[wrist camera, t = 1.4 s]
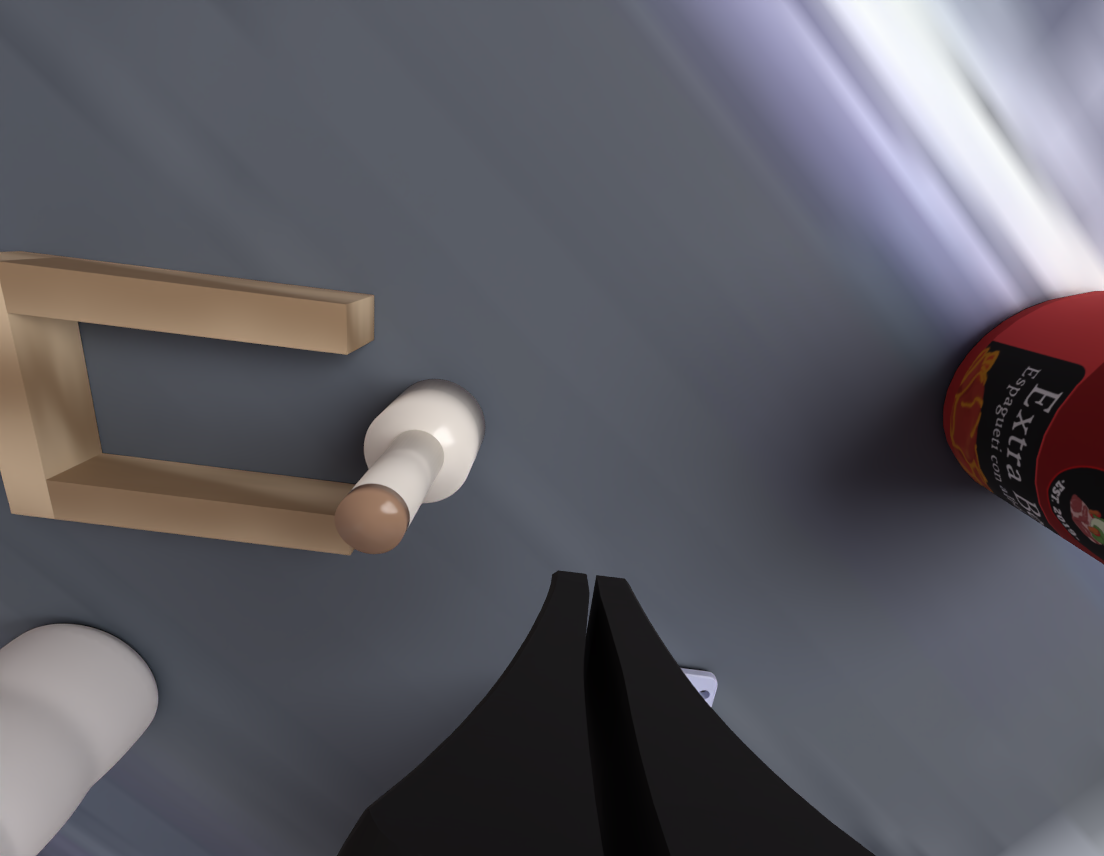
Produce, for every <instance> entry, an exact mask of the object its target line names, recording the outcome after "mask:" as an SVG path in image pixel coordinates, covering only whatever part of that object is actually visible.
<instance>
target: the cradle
mask: <svg viewBox="0 0 1104 856" xmlns="http://www.w3.org/2000/svg"><path fill="white" fill-rule="evenodd" d="M78 321H79V322H87V323H95V324H103V325H111V326H119V327H128V328H136V329H144V330H152V331H160V332H168V333H176V334H184V335H192V336H200V337H208V338H216V339H225V340H233V341H241V342H249V343H257V344H265V345H273V346H281V347H289V348H297V349H305V350H313V351H321V352H330V353H338V354H346V355H347V354H349V353H351V352H353V351H355V350H356V349H358V348H360V347H362V346H364V345H365V344H367V343H369V342H371V341H372V340H374V295H369V294H361V293H353V292H345V291H337V290H329V289H321V288H313V287H305V286H297V285H289V284H281V283H273V282H265V281H256V280H248V279H240V278H232V277H224V276H216V275H208V274H200V273H192V272H184V271H176V270H168V269H160V268H152V267H144V266H135V265H127V264H119V263H111V262H103V261H95V260H87V259H79V258H71V257H63V256H55V255H47V254H39V253H31V252H23V251H15V252H0V471H1V475H2V479H3V482H4V486H5V490H6V494H7V498H8V502H9V505H10V509H11V513H12V514H19V515H27V516H35V517H43V518H51V519H59V520H67V521H76V522H84V523H92V524H100V525H108V526H116V527H124V528H133V529H141V530H149V531H157V532H165V533H173V534H181V535H190V536H198V537H206V538H214V539H222V540H230V541H238V542H246V543H255V544H263V545H271V546H279V547H287V548H295V549H303V550H312V551H320V552H328V553H336V554H344V555H351V553H352V552H353V550H354V548H352V547H351V546H349V545H348V544H347V543H346V542H345V541H344V540H343V539H342V538H341V537H340V535H339V533H338V531H337V529H336V526H335V512H336V509H337V507H338V505H339V504H340V503H341V501H342V500H343V499H344V498H345V497H346V495H347V494H348V493H349V492H350V491H351V490H352V488H353V487H354V486H355V485H356V484H349V483H341V482H333V481H325V480H317V479H308V478H300V477H292V476H284V475H276V474H268V473H260V472H252V471H244V470H235V469H227V468H219V467H211V466H203V465H195V464H187V463H179V462H170V461H162V460H154V459H146V458H138V457H130V456H122V455H114V454H106V453H102V449H101V444H100V438H99V433H98V428H97V422H96V417H95V412H94V406H93V401H92V396H91V390H90V385H89V380H88V374H87V369H86V363H85V358H84V353H83V347H82V342H81V337H80V331H79V326H78Z"/></svg>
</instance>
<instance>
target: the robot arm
mask: <svg viewBox="0 0 1104 856" xmlns="http://www.w3.org/2000/svg"><path fill="white" fill-rule="evenodd" d="M588 604H589V587H588V580H587V575H586V574H582V573H574V572H566V571H557V572H555V573H554V574H552V580H551V585H550V589H549V592H548V595H547V597H546V600H545V602H544V604H543V607H542V609H541V611H540V613H539V615H538V617H537V619H536V621H535V623H534V625H533V627H532V629H531V630H530V632H529V634H528V636H527V637H526V639H525V641H524V642H523V644H522V645H521V647H520V649H519V650H518V652H517V653H516V655H515V657H514V658H513V660H512V661H511V663H510V664H509V666H508V667H507V668H506V670H505V671H504V673H503V674H502V675H501V677H500V678H499V679H498V681H497V682H496V683H495V685H494V686H493V687H492V689H491V690H490V691H489V692H488V694H487V695H486V696H485V697H484V698H483V700H482V701H481V702H480V703H479V704H478V705H477V707H476V708H475V709H474V710H473V711H472V712H471V714H470V715H469V716H468V717H467V718H466V719H465V720H464V721H463V722H462V724H461V725H460V726H459V727H458V728H457V729H456V730H455V731H454V732H453V733H452V734H451V735H450V736H449V737H448V738H447V739H446V740H445V741H444V742H443V743H442V744H441V745H440V746H438V747H437V748H436V749H435V750H434V751H433V752H432V753H431V754H430V755H429V756H428V757H427V758H426V759H425V760H424V761H423V762H422V763H421V764H420V765H419V766H417V767H416V768H415V769H414V770H413V771H412V772H411V773H409V774H408V775H407V776H406V777H405V778H403V779H402V780H401V781H400V782H398V783H397V784H396V785H395V786H393V787H392V788H391V789H390V790H389V791H387V792H386V793H385V794H384V795H382V796H381V797H380V798H379V799H378V800H376V801H375V802H374V803H373V804H371V805H370V806H369V807H368V808H367V809H366V810H365V811H364V813H363V814H362V816H361V817H360V819H359V820H358V822H357V823H356V825H355V827H354V828H353V830H352V831H351V833H350V835H349V836H348V838H347V839H346V841H345V843H344V844H343V846H342V848H341V850H340V851H339V853H338V855H337V856H875V855H874V854H873V853H871V852H870V851H869V850H867V849H866V848H865V847H863V846H862V845H861V844H859V843H858V842H857V841H855V840H854V839H853V838H852V837H850V836H849V835H848V834H846V833H845V832H844V831H842V830H841V829H840V828H838V827H837V826H836V825H834V824H833V823H832V822H831V821H829V820H828V819H827V818H826V817H824V816H823V815H822V814H821V813H820V812H819V811H817V810H816V809H815V808H814V807H813V806H811V805H810V804H809V803H808V802H807V801H806V800H804V799H803V798H802V797H801V796H800V795H799V794H797V793H796V792H795V791H794V790H793V789H792V788H790V787H789V786H788V785H787V784H786V783H785V782H784V781H783V780H782V779H781V778H779V777H778V776H777V775H776V774H775V773H774V772H773V771H772V770H771V769H770V768H769V767H768V766H767V765H766V764H764V763H763V762H762V761H761V760H760V759H759V758H758V757H757V756H756V755H755V754H754V753H753V752H752V751H751V750H750V749H749V748H748V747H747V746H746V745H745V744H744V743H743V742H742V741H741V740H740V739H739V738H738V737H737V736H736V735H735V734H734V732H733V731H732V730H731V729H730V728H729V727H728V726H727V725H726V724H725V723H724V722H723V720H722V719H721V718H720V717H719V716H718V715H717V714H716V712H715V711H714V710H713V709H712V708H711V707H712V703H713V700H714V696H715V693H716V690H717V680H716V677H715V675H714V674H713V673H711V672H708V671H701V670H693V669H685V668H680V667H679V665H678V664H677V662H676V661H675V660H674V658H673V657H672V655H671V654H670V652H669V651H668V649H667V648H666V646H665V645H664V643H663V642H662V640H661V639H660V637H659V635H658V634H657V632H656V631H655V629H654V628H653V626H652V624H651V623H650V621H649V619H648V618H647V616H646V614H645V613H644V611H643V609H642V607H641V606H640V604H639V602H638V600H637V598H636V597H635V595H634V593H633V591H632V589H631V587H630V585H629V584H628V582H627V581H626V580H625V579H623V578H615V577H607V576H598V575H596V581H595V586H594V592H593V598H592V604H591V610H590V615H589V621H588V627H587V616H588ZM586 627H587V633H586ZM585 638H586V639H585ZM702 690H706V691H705V692H700V691H702Z"/></svg>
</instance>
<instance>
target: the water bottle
mask: <svg viewBox="0 0 1104 856" xmlns="http://www.w3.org/2000/svg"><path fill="white" fill-rule="evenodd" d="M157 707H158V689H157V685H156V681H155V679H154V676H153V674H152V672H151V670H150V668H149V667H148V665H147V664H146V662H145V661H144V660H143V659H142V657H141V656H140V655H139V654H138V653H137V652H136V651H135V650H134V649H132V648H131V647H130V646H129V645H127V644H126V643H124V642H123V641H122V640H120V639H118V638H116V637H115V636H113V635H111V634H109V633H106V632H104V631H101V630H99V629H95V628H92V627H88V626H83V625H77V624H50V625H45V626H40V627H37V628H34V629H32V630H29V631H27V632H25V633H23V634H22V635H20V636H18V637H17V638H15V639H14V640H12V641H11V642H10V643H8V644H7V645H5V646H4V647H3V648H1V649H0V856H36V855H37V854H38V853H39V852H40V851H41V850H42V849H43V848H44V847H45V846H46V845H47V844H48V843H49V841H50V840H51V839H52V838H53V837H54V836H55V835H56V833H57V832H58V831H59V830H60V829H61V828H62V826H63V825H64V824H65V823H66V822H67V820H68V819H69V818H70V816H71V815H72V814H73V813H74V811H75V810H76V808H77V807H78V806H79V804H80V803H81V801H82V800H83V798H84V797H85V795H86V794H87V792H88V791H89V789H90V788H91V787H92V786H93V785H94V784H95V783H96V782H97V781H98V780H99V779H100V778H101V777H102V776H104V775H105V774H106V773H107V772H108V771H109V770H110V769H111V768H112V767H113V766H114V765H115V764H116V763H117V762H118V761H119V760H120V759H121V758H122V756H123V755H124V754H125V753H126V752H127V751H128V750H129V749H130V748H131V747H132V745H133V744H134V743H135V742H136V741H137V740H138V739H139V737H140V736H141V735H142V734H143V733H144V731H145V730H146V729H147V728H148V726H149V725H150V723H151V722H152V720H153V718H154V716H155V714H156V711H157Z"/></svg>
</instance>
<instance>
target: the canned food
mask: <svg viewBox="0 0 1104 856" xmlns="http://www.w3.org/2000/svg"><path fill="white" fill-rule="evenodd" d="M943 427H944V431H945V435H946V439H947V442H948V444H949V446H950V448H951V450H952V452H953V454H954V455H955V457H956V459H957V460H958V462H959V463H960V465H961V466H962V468H963V469H964V470H965V471H966V472H967V473H968V474H969V475H970V476H971V477H972V479H973V480H974V481H975V482H977V483H979V484H980V485H982V486H983V487H985V488H986V489H988V490H989V491H991V492H992V493H994V494H996V495H997V496H999V497H1000V498H1002V499H1003V500H1005V501H1006V502H1008V503H1010V504H1011V505H1013V506H1014V507H1016V508H1017V509H1019V510H1020V511H1022V512H1023V513H1025V514H1027V515H1028V516H1030V517H1031V518H1033V519H1034V520H1036V521H1037V522H1039V523H1041V524H1042V525H1044V526H1045V527H1047V528H1048V529H1050V530H1051V531H1053V532H1054V533H1056V534H1058V535H1059V536H1061V537H1062V538H1064V539H1065V540H1067V541H1068V542H1070V543H1072V544H1073V545H1075V546H1076V547H1078V548H1079V549H1081V550H1082V551H1084V552H1086V553H1087V554H1089V555H1090V556H1092V557H1093V558H1095V559H1096V560H1098V561H1099V562H1101V563H1103V564H1104V291H1094V292H1088V293H1083V294H1078V295H1073V296H1068V297H1063V298H1058V299H1053V300H1048V301H1046V302H1043V303H1040V304H1038V305H1035V306H1032V307H1030V308H1027V309H1025V310H1023V311H1021V312H1019V313H1018V314H1016V315H1014V316H1012V317H1010V318H1009V319H1007V320H1005V321H1003V322H1002V323H1001V324H1000V325H998V326H997V327H996V328H994V329H993V330H992V331H990V332H989V333H988V334H986V335H985V336H984V337H983V338H982V339H981V340H980V341H979V342H978V343H977V344H976V345H975V347H974V348H973V349H972V350H971V351H970V352H969V353H968V354H967V356H966V357H965V359H964V360H963V362H962V363H961V364H960V366H959V367H958V369H957V370H956V372H955V374H954V377H953V379H952V381H951V383H950V385H949V388H948V390H947V394H946V399H945V403H944V407H943Z"/></svg>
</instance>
